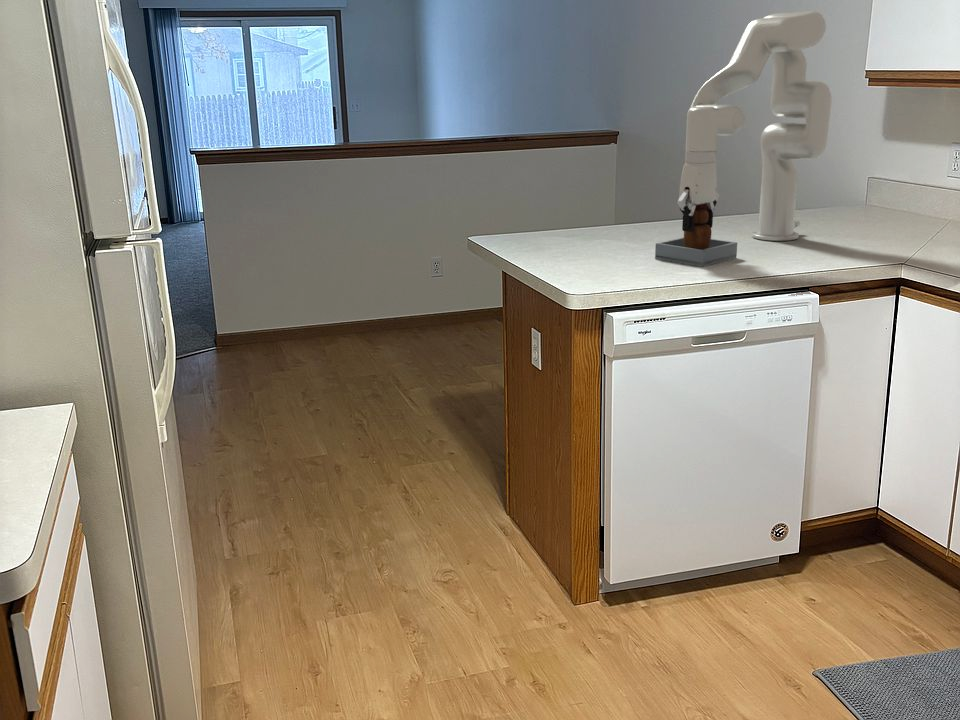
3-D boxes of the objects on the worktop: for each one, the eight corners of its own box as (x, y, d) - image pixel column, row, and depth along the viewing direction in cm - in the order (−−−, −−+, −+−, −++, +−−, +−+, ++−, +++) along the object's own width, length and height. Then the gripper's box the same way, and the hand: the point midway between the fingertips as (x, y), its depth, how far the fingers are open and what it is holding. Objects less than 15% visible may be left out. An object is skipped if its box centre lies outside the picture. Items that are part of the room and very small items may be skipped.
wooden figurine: (711, 251, 238) (714, 193, 233) (708, 255, 232) (712, 196, 228) (684, 250, 240) (687, 192, 235) (681, 254, 235) (684, 195, 230)
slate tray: (689, 250, 246) (690, 235, 245) (736, 257, 236) (737, 242, 234) (655, 258, 237) (655, 243, 236) (702, 266, 227) (703, 250, 225)
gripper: (708, 154, 237) (705, 223, 242) (666, 160, 226) (664, 232, 231) (733, 156, 231) (729, 226, 237) (692, 162, 221) (688, 235, 226)
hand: (697, 228), depth 234 cm, fingers open, 7 cm apart
